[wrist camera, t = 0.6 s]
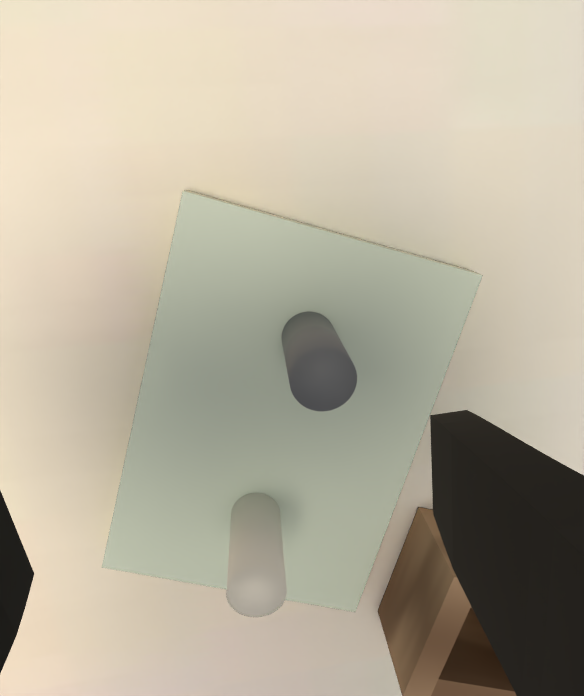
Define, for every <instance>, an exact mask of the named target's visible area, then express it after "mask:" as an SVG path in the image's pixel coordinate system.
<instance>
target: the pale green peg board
mask: <svg viewBox="0 0 584 696" xmlns="http://www.w3.org/2000/svg"><path fill="white" fill-rule="evenodd" d="M482 276H483V275H481V274H478V273H476V272H474V271H471V270H468V269H464V268H461V267H457V266H454V265H450V264H446V263H443V262H439V261H436V260H432V259H429V258H425V257H422V256H418V255H415V254H411V253H408V252H404V251H400V250H397V249H393V248H390V247H386V246H383V245H379V244H376V243H372V242H369V241H365V240H362V239H358V238H354V237H351V236H347V235H344V234H340V233H337V232H333V231H330V230H326V229H323V228H319V227H316V226H312V225H308V224H305V223H301V222H298V221H294V220H291V219H287V218H284V217H280V216H277V215H273V214H270V213H266V212H262V211H259V210H255V209H252V208H248V207H245V206H241V205H238V204H234V203H231V202H227V201H224V200H220V199H216V198H213V197H209V196H206V195H202V194H199V193H195V192H192V191H188V190H184V191H183V192H182V197H181V202H180V206H179V211H178V216H177V220H176V225H175V230H174V234H173V239H172V244H171V248H170V253H169V257H168V262H167V267H166V271H165V276H164V281H163V285H162V290H161V295H160V299H159V304H158V309H157V313H156V318H155V323H154V327H153V332H152V336H151V341H150V346H149V350H148V355H147V360H146V364H145V369H144V374H143V378H142V383H141V388H140V392H139V397H138V402H137V406H136V411H135V415H134V420H133V425H132V429H131V434H130V439H129V443H128V448H127V453H126V457H125V462H124V467H123V471H122V476H121V481H120V485H119V490H118V494H117V499H116V504H115V508H114V513H113V518H112V522H111V527H110V532H109V536H108V541H107V546H106V550H105V555H104V560H103V564H102V568H108V569H113V570H119V571H125V572H130V573H136V574H141V575H147V576H153V577H158V578H164V579H170V580H175V581H181V582H187V583H192V584H198V585H204V586H209V587H215V588H221V589H226V590H227V593H226V595H227V600H228V602H229V604H230V606H231V607H232V608H233V609H234V610H235V611H236V612H238V613H240V614H242V615H244V616H248V617H262V616H266V615H269V614H271V613H273V612H275V611H276V610H278V609H279V608H280V607H281V605H282V604H283V603H284V601H285V600H289V601H294V602H300V603H306V604H311V605H317V606H323V607H328V608H334V609H339V610H345V611H351V612H355V611H356V609H357V606H358V603H359V601H360V598H361V596H362V593H363V590H364V588H365V585H366V582H367V580H368V577H369V574H370V572H371V569H372V566H373V564H374V561H375V559H376V556H377V553H378V551H379V548H380V545H381V543H382V540H383V537H384V535H385V532H386V530H387V527H388V524H389V522H390V519H391V516H392V514H393V511H394V508H395V506H396V503H397V500H398V498H399V495H400V493H401V490H402V487H403V485H404V482H405V479H406V477H407V474H408V471H409V469H410V466H411V463H412V461H413V458H414V456H415V453H416V450H417V448H418V445H419V442H420V440H421V437H422V434H423V432H424V429H425V427H426V424H427V421H428V419H429V416H430V413H431V411H432V408H433V405H434V403H435V400H436V397H437V395H438V392H439V390H440V387H441V384H442V382H443V379H444V376H445V374H446V371H447V368H448V366H449V363H450V360H451V358H452V355H453V353H454V350H455V347H456V345H457V342H458V339H459V337H460V334H461V331H462V329H463V326H464V324H465V321H466V318H467V316H468V313H469V310H470V308H471V305H472V302H473V300H474V297H475V294H476V292H477V289H478V287H479V284H480V281H481V279H482Z"/></svg>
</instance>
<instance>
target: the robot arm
mask: <svg viewBox="0 0 584 696" xmlns="http://www.w3.org/2000/svg"><path fill="white" fill-rule="evenodd" d="M430 419H431V455H432V490H433V515H434V518H435V521H436V524H437V527H438V529H439V532H440V535H441V538H442V541H443V544H444V546H445V549H446V552H447V554H448V557H449V560H450V562H451V565H452V568H453V570H454V572H455V574H456V576H457V578H458V580H459V582H460V584H461V586H462V588H463V590H464V592H465V594H466V596H467V598H468V600H469V602H470V604H471V606H472V608H473V610H474V612H475V614H476V616H477V618H478V620H479V622H480V624H481V626H482V628H483V630H484V632H485V634H486V636H487V638H488V640H489V642H490V644H491V646H492V648H493V650H494V652H495V654H496V656H497V658H498V660H499V662H500V664H501V666H502V668H503V670H504V672H505V674H506V675H507V677H508V679H509V681H510V683H511V685H512V687H513V689H514V691H515V693H516V695H517V696H584V476H583V475H582V474H580V473H578V472H576V471H574V470H572V469H570V468H569V467H567V466H565V465H563V464H561V463H559V462H558V461H556V460H554V459H552V458H551V457H549V456H547V455H545V454H543V453H542V452H540V451H538V450H536V449H535V448H533V447H531V446H529V445H528V444H526V443H524V442H523V441H521V440H519V439H517V438H516V437H514V436H512V435H511V434H509V433H507V432H505V431H504V430H502V429H500V428H499V427H497V426H495V425H493V424H492V423H490V422H488V421H486V420H485V419H483V418H481V417H479V416H477V415H476V414H474V413H472V412H470V411H468V410H464V411H457V412H450V413H443V414H436V415H430ZM33 576H34V572H33V570H32V567H31V565H30V562H29V560H28V557H27V555H26V552H25V550H24V548H23V545H22V543H21V540H20V538H19V535H18V533H17V530H16V528H15V525H14V523H13V520H12V518H11V516H10V513H9V511H8V508H7V506H6V503H5V501H4V498H3V496H2V493H1V491H0V673H1V670H2V668H3V666H4V663H5V661H6V659H7V657H8V654H9V652H10V649H11V647H12V645H13V642H14V640H15V637H16V635H17V632H18V629H19V625H20V622H21V619H22V616H23V612H24V609H25V606H26V602H27V598H28V595H29V591H30V587H31V584H32V580H33Z"/></svg>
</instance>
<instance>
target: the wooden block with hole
mask: <svg viewBox="0 0 584 696" xmlns="http://www.w3.org/2000/svg"><path fill="white" fill-rule="evenodd" d="M471 607H472V606H471V604H470V602H469V600H468V598H467V596H466V594H465V592H464V590H463V588H462V586H461V584H460V582H459V580H458V578H457V576H456V574H455V572H454V570H453V568H452V565H451V562H450V560H449V557H448V554H447V552H446V549H445V546H444V544H443V541H442V538H441V535H440V532H439V529H438V527H437V524H436V521H435V518H434V515H433V510H430V509H425V508H421V507H418V510H417V512H416V515H415V517H414V520H413V523H412V525H411V528H410V530H409V533H408V535H407V538H406V540H405V543H404V546H403V548H402V551H401V553H400V556H399V558H398V561H397V563H396V566H395V568H394V571H393V574H392V576H391V579H390V581H389V584H388V586H387V589H386V591H385V594H384V597H383V599H382V602H381V604H380V607H379V609H378V613H379V617H380V620H381V624H382V627H383V631H384V634H385V637H386V641H387V644H388V648H389V651H390V655H391V658H392V661H393V665H394V668H395V672H396V675H397V679H398V682H399V686H400V689H401V692H402V696H517V695H516V693H515V691H514V689H513V687H512V685H511V683H510V681H509V679H508V677H507V675H506V674H505V672H504V670H503V668H502V666H501V664H500V662H499V660H498V658H497V656H496V654H495V652H494V650H493V648H492V646H491V644H490V642H489V640H488V638H487V636H486V634H485V632H484V630H483V628H482V626H481V624H480V622H479V620H478V618H477V616H476V614H475V612H474V610H473V608H471Z"/></svg>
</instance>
